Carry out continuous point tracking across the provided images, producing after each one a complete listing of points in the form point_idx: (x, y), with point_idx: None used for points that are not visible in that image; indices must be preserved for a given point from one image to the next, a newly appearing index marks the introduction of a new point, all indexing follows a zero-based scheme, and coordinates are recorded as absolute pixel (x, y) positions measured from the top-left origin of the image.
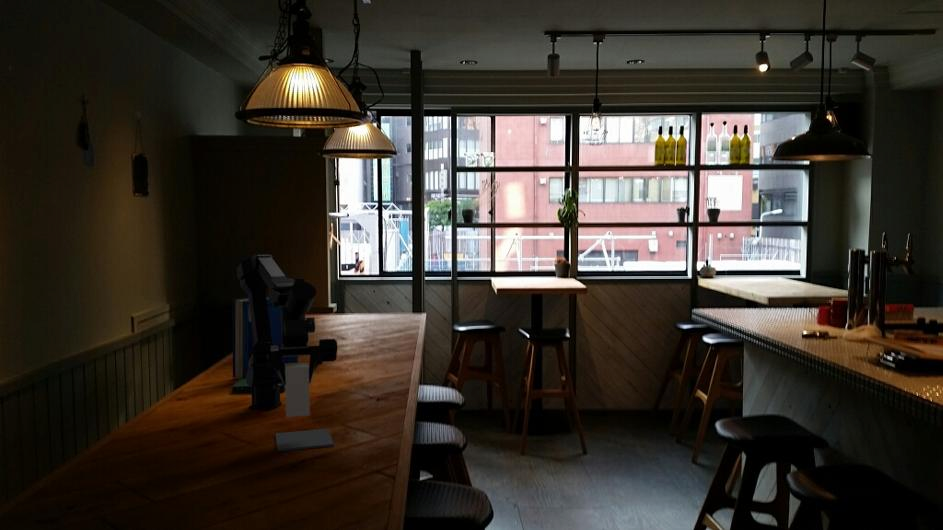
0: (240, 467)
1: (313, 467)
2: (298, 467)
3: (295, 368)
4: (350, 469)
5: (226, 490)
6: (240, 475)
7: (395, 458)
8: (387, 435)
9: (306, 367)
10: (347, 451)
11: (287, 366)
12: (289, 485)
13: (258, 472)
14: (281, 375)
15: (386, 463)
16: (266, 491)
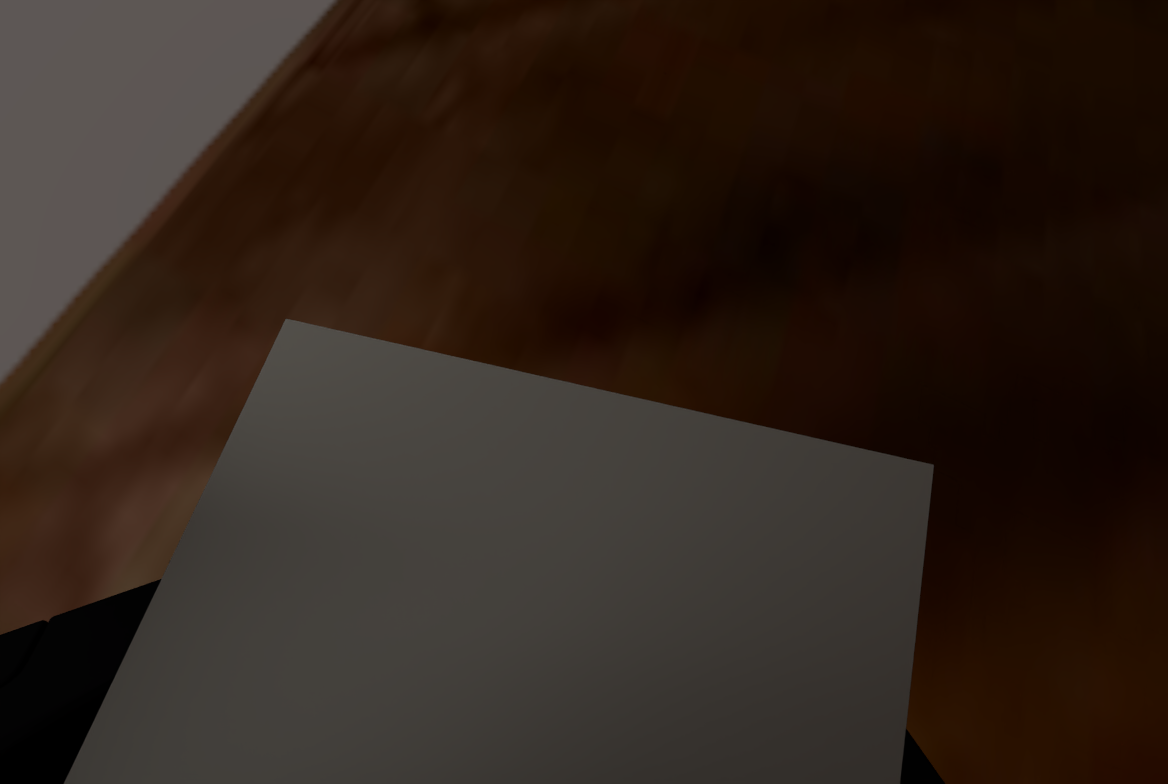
0: (1090, 364)
1: (680, 182)
2: (754, 215)
3: (635, 404)
4: (526, 86)
5: (1164, 86)
6: (1091, 240)
7: (268, 123)
8: (32, 496)
9: (351, 342)
10: (410, 328)
11: (832, 652)
12: (853, 29)
13: (984, 239)
14: (930, 767)
15: (344, 85)
16: (968, 10)
